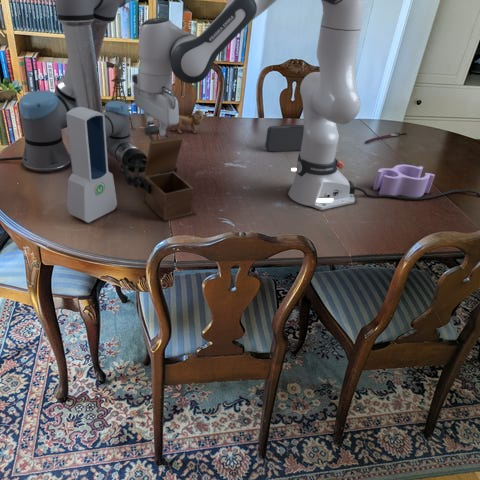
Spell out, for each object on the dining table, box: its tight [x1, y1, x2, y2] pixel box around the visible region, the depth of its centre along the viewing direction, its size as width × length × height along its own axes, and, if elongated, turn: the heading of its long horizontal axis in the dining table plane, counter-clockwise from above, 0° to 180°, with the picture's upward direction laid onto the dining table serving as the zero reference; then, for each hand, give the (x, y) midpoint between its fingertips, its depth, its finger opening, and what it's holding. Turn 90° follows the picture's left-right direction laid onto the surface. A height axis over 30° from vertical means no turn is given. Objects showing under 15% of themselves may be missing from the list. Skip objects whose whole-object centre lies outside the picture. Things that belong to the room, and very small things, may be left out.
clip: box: [372, 164, 436, 198], centre depth 166 cm, size 20×12×7 cm, turn 109°
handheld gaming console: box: [264, 124, 304, 152], centre depth 189 cm, size 23×3×10 cm, turn 108°
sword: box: [365, 132, 406, 144], centre depth 214 cm, size 31×3×1 cm, turn 126°
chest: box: [144, 171, 195, 222], centre depth 140 cm, size 13×10×9 cm
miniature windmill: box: [105, 53, 134, 129], centre depth 184 cm, size 9×8×30 cm
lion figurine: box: [168, 109, 204, 134], centre depth 195 cm, size 15×5×9 cm, turn 110°
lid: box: [143, 125, 184, 177], centre depth 138 cm, size 13×10×9 cm
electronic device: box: [66, 107, 118, 224], centre depth 127 cm, size 12×8×30 cm, turn 148°
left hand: (165, 185), depth 140 cm, fingers closed on chest, 10 cm apart
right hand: (156, 130), depth 136 cm, fingers open, 5 cm apart
